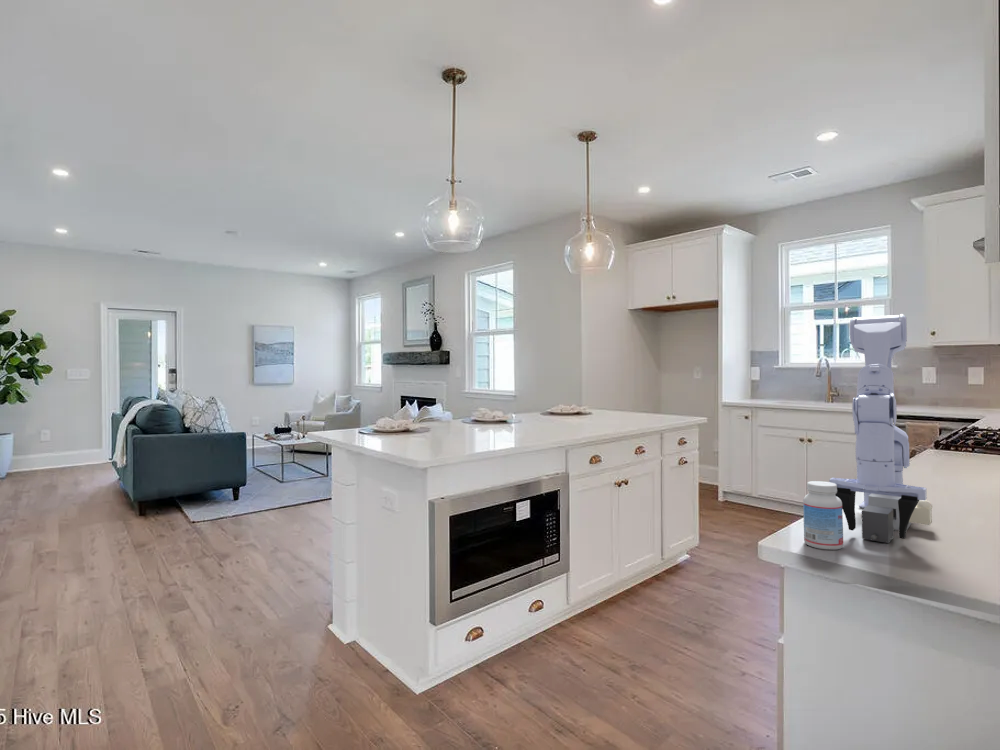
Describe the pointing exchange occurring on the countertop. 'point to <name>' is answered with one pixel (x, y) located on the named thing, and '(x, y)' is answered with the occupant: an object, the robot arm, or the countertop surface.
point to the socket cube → (887, 506)
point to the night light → (922, 513)
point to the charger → (877, 524)
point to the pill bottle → (823, 516)
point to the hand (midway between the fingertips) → (876, 533)
